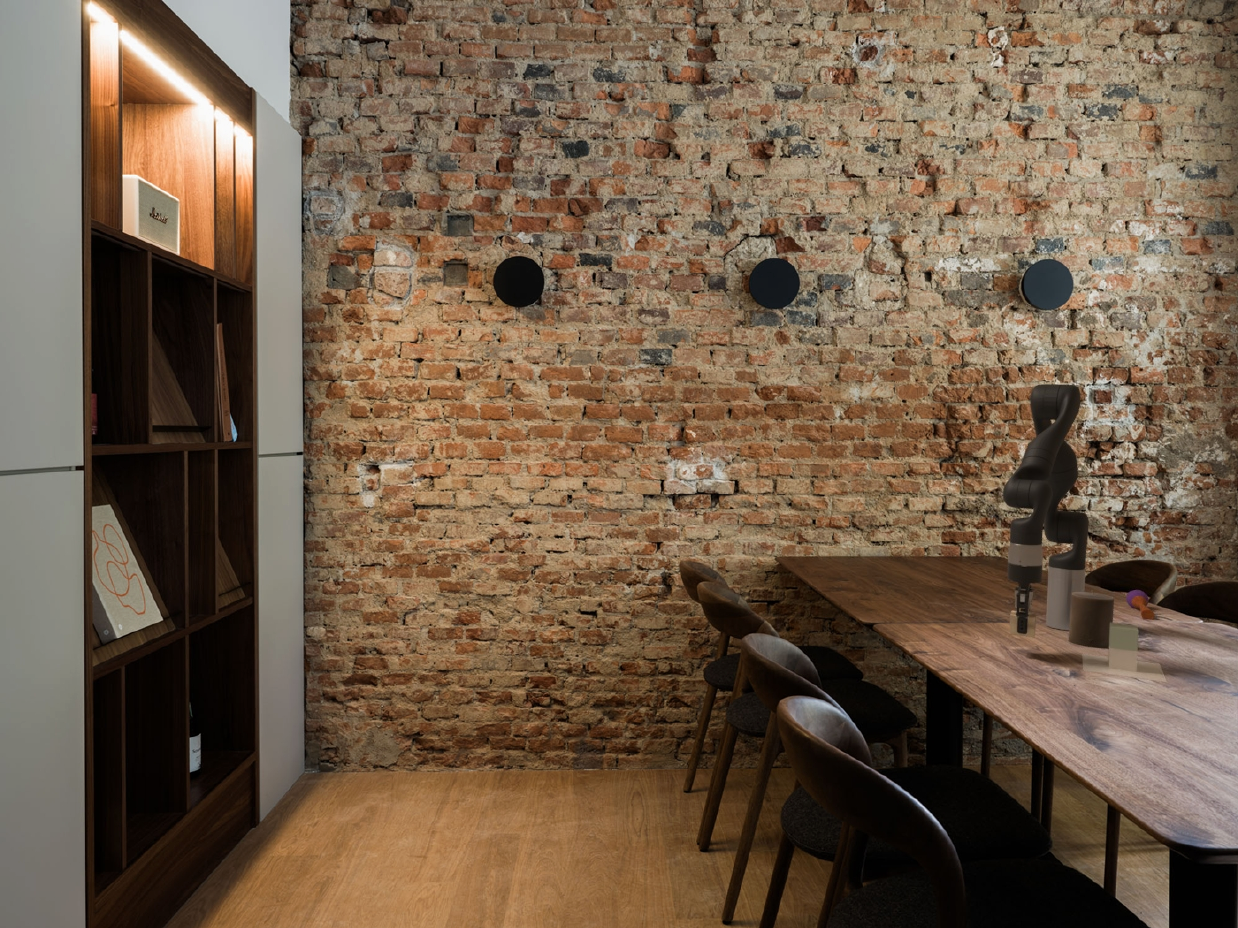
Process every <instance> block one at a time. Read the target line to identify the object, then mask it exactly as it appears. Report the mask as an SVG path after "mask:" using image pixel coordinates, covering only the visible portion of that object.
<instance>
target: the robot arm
mask: <svg viewBox="0 0 1238 928" xmlns="http://www.w3.org/2000/svg"><path fill="white" fill-rule="evenodd" d="M1029 400H1030V401H1029V402H1030V411H1031V418H1032V421H1033V426H1034V431H1035V437H1034V438H1033V439H1032V440H1031V441H1030V442H1029V443H1028V445H1027V447H1025V448H1026V449H1025V451H1024V454H1023V457H1022V460H1021V462H1020V465H1019V466H1018V468H1017V469H1016V470H1015V471H1014V473H1013V474H1012V475H1011V476H1010V477H1009V479H1008V480H1007V482H1006V483H1005V484H1004V487H1003V491H1002V499H1003V500H1004V501H1003V502H1004V503H1005V504H1006V505H1007V506H1008V507H1010V508H1012V509H1026V510H1032V513H1031V514H1030V516H1027V517H1017V518H1014V519H1012V520H1011V522H1010V529H1009V531H1010V532H1009V547H1008V553H1007V579H1008V581H1010V582H1014V583H1018V586H1015V588H1014V596H1015V597H1014V600H1015V603H1014V606H1015V607H1014V608H1016V611H1017V613H1016V617H1017V632H1018V633H1021V634H1026V633H1027V623H1028V617H1029V614H1028V612H1031V609H1032V604H1033V596H1034V588H1032V584H1035V585H1036V584H1040V583H1041V582H1042V581H1043V562H1044V560H1043V559H1044V553H1043V552H1044V551H1043V531H1044V536H1045V538H1046V540H1048V541H1049V542H1051V543H1058V544H1065V545H1066V544H1067V545H1072V548H1071V549H1070V550H1067V551H1065V552H1060V553H1058V554H1053V555H1050V557H1049V558H1048V568H1047V594H1046V595H1047V596H1046V599H1047V600H1046V615H1045V616H1046V619H1045V625H1046V626H1047V627H1049V628H1052V629H1056V630H1062V631H1069V628H1070V612H1071V596H1072V593H1074V592H1085V590H1086V589H1085V587H1086V586H1085V585H1086V561H1087V547H1088V536H1089V526H1090V522H1089V517H1088V515H1087V514H1086V513H1085V512H1081V511H1068V510H1059V509H1058V507H1059V505H1060V503H1061V501H1062V500H1063V498H1064V497H1065V496H1066V495H1067V494H1068V493H1069V492H1070V491H1071V490H1072V488H1073V487H1075V485H1076V482H1077V481H1078V478H1079V468H1078V467H1079V466H1078V459H1077V454H1076V452H1075V450H1074V449H1073V448H1072V447H1071V446H1070V444H1069V443H1068V442H1067V441H1066V437H1067V435H1068V434H1069V431H1070V430H1071V428H1072V427H1073V424H1074V422H1075V420H1076V419H1077V416H1078V413H1079V411H1080V407H1081V402H1082V401H1081V392H1080V389H1079V387H1078V386H1076V385H1073V384H1060V383H1059V384H1052V383H1051V384H1050V383H1047V384H1045V383H1043V384H1037V385H1035V386H1034V387H1033V388H1032V390H1031V392H1030V399H1029ZM1052 420H1053V423H1052ZM1043 529H1044V530H1043ZM1019 611H1021V612H1019Z"/></svg>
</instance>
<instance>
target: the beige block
mask: <svg viewBox="0 0 1238 928" xmlns="http://www.w3.org/2000/svg"><path fill="white" fill-rule="evenodd" d="M1138 651H1139V650H1138ZM1138 651H1131V650H1123V649H1115V648H1110V646H1109V648H1108V653H1107V654H1108V656H1107V657H1108V665H1109V668H1112V669H1119V670H1126V671H1134V672H1137V661H1138V653H1139V652H1138Z"/></svg>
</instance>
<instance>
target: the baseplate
mask: <svg viewBox="0 0 1238 928" xmlns="http://www.w3.org/2000/svg"><path fill="white" fill-rule="evenodd" d="M1081 657H1082V671H1084V672H1089V673H1098V674H1105V675H1112V676H1120V677H1128V678H1134V679H1140V680H1149V681H1156V682H1161V683H1168V682H1167V679H1166V677H1165V675H1164V672H1163V668H1162V666H1161V663H1158V662H1157V663H1156V662H1148V661H1141V660H1137V672H1134V671H1126V670H1119V669H1112V668H1109V665H1108V656H1104V655H1103V656H1102V655H1096V654H1095V655H1094V654H1087V653H1081Z"/></svg>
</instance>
